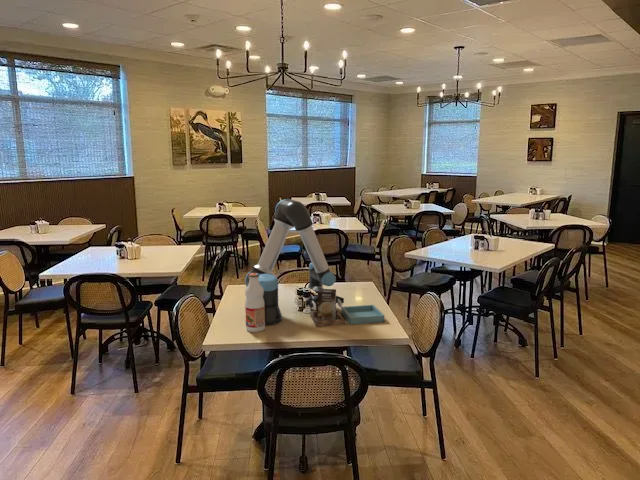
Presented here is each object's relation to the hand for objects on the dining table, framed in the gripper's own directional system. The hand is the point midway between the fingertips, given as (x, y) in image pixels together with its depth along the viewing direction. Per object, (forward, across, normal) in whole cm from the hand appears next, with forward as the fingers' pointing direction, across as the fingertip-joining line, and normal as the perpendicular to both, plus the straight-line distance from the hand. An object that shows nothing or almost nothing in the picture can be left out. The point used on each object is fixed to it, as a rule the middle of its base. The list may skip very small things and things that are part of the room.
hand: (328, 306), depth 253 cm
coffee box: (-3, 0, -9) cm, 9 cm away
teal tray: (-3, -19, -8) cm, 21 cm away
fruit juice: (+1, +37, -9) cm, 38 cm away
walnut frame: (-3, 0, -8) cm, 9 cm away
